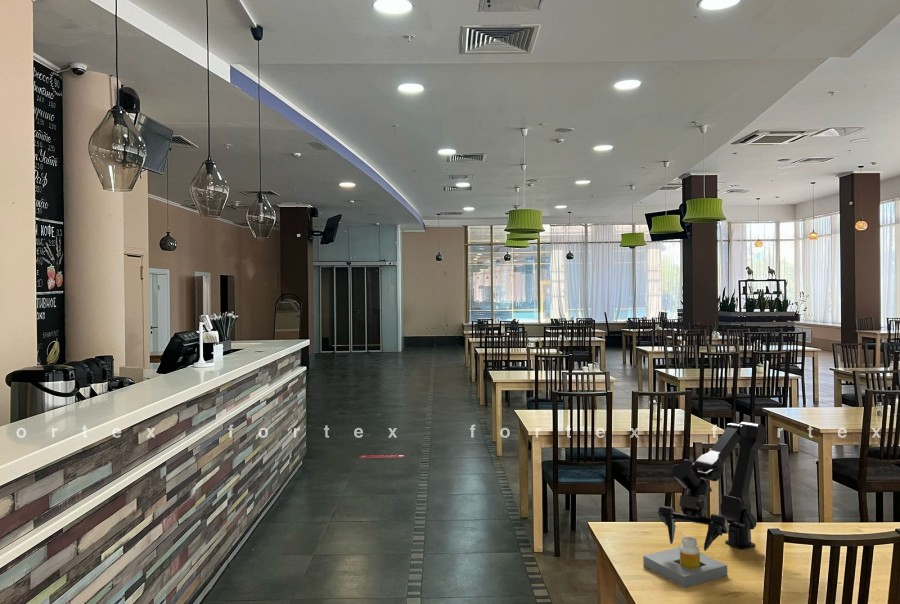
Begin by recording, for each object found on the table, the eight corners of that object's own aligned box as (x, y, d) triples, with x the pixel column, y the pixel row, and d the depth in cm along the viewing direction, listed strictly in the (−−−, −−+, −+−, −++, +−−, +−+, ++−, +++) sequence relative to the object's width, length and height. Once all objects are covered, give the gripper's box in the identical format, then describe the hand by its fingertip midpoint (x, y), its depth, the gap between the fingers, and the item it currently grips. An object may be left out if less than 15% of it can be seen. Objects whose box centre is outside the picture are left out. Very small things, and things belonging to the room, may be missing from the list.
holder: (684, 555, 188) (684, 545, 188) (727, 575, 173) (727, 565, 173) (643, 565, 181) (643, 555, 181) (684, 587, 166) (684, 576, 166)
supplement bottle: (702, 578, 172) (701, 543, 172) (681, 576, 173) (680, 542, 173) (698, 570, 177) (697, 536, 177) (678, 568, 178) (677, 535, 179)
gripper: (658, 478, 184) (647, 526, 175) (725, 487, 173) (717, 539, 164) (667, 498, 190) (657, 545, 181) (731, 508, 179) (724, 558, 170)
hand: (687, 546), depth 174 cm, fingers open, 9 cm apart
